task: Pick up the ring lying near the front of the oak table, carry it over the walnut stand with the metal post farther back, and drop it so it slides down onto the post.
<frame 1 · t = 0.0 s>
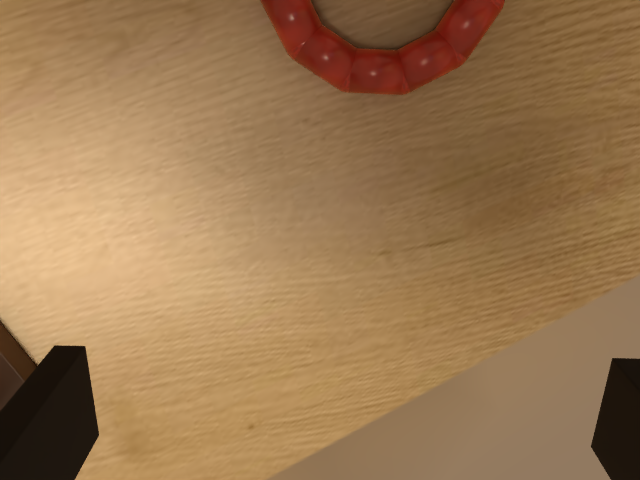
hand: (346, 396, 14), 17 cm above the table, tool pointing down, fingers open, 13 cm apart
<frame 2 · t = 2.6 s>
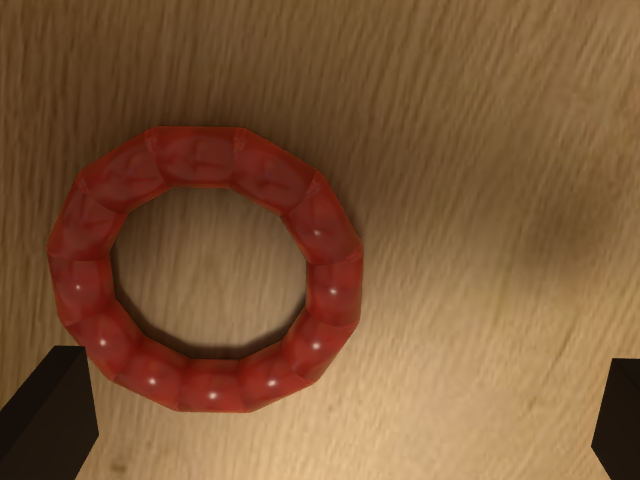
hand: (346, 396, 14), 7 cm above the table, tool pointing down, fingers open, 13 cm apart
ring: (208, 280, 20), point 1 cm above the table
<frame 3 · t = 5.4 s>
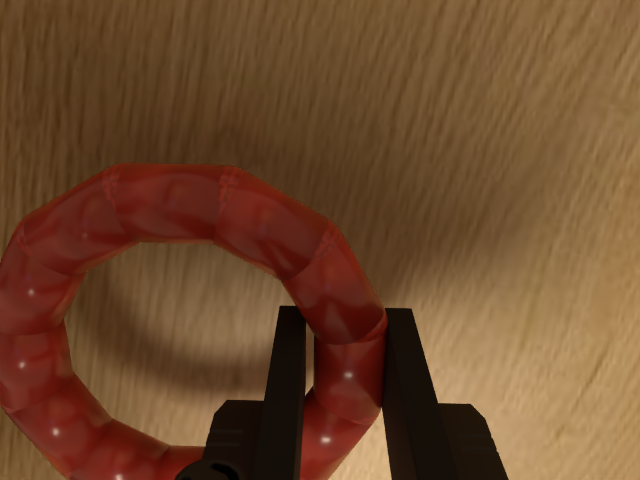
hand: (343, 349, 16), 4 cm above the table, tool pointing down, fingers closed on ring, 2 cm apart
ring: (189, 356, 16), point 5 cm above the table, touching gripper
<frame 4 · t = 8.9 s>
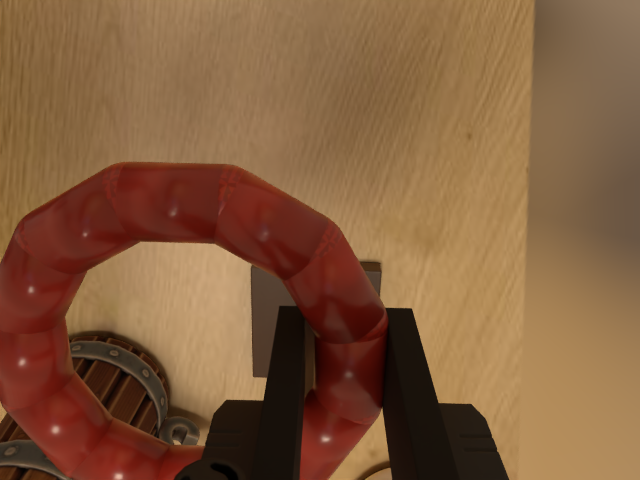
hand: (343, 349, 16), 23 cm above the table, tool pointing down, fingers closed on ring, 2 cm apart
mug: (136, 398, 45), on the table
ring: (189, 355, 16), point 23 cm above the table, touching gripper
stand: (314, 316, 42), on the table
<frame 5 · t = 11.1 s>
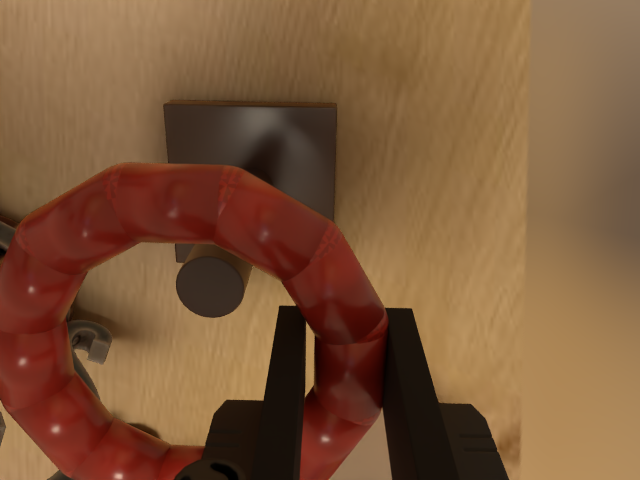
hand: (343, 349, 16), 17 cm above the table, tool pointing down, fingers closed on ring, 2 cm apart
mug: (35, 300, 36), on the table
ring: (189, 356, 16), point 18 cm above the table, touching gripper
cup: (378, 436, 39), on the table
stand: (255, 181, 32), on the table
when the fingers open (13 cm above the table, at t = 12.7 s): ring drops 10 cm, resting on stand.
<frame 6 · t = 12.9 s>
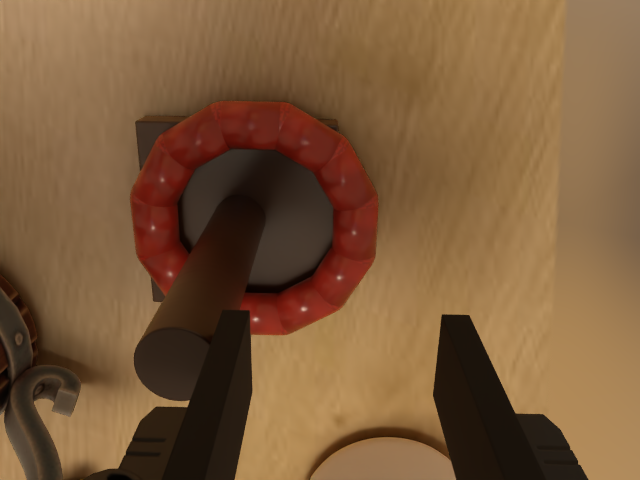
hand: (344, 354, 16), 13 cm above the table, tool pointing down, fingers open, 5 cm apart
ring: (255, 225, 26), point 3 cm above the table, touching stand
stand: (244, 209, 28), on the table
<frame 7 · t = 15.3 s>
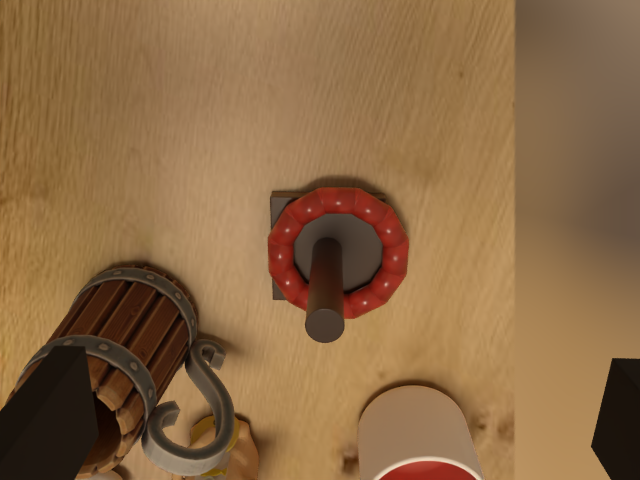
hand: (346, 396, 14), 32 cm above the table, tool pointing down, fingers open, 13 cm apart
mug: (168, 324, 50), on the table
ring: (337, 255, 45), point 2 cm above the table, touching stand
figurine: (232, 443, 55), on the table
cup: (409, 422, 54), on the table
stand: (327, 244, 47), on the table
egg: (104, 472, 57), on the table
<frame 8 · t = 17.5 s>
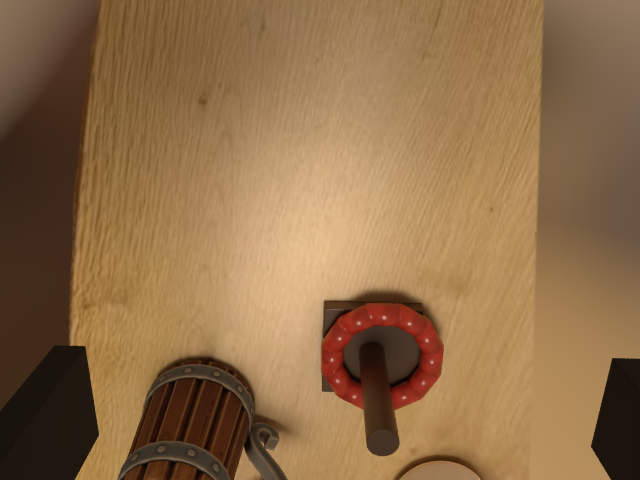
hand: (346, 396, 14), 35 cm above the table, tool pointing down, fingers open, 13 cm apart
mug: (227, 408, 57), on the table
ring: (381, 358, 52), point 2 cm above the table, touching stand
stand: (370, 343, 54), on the table
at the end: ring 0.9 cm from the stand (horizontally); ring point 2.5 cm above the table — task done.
